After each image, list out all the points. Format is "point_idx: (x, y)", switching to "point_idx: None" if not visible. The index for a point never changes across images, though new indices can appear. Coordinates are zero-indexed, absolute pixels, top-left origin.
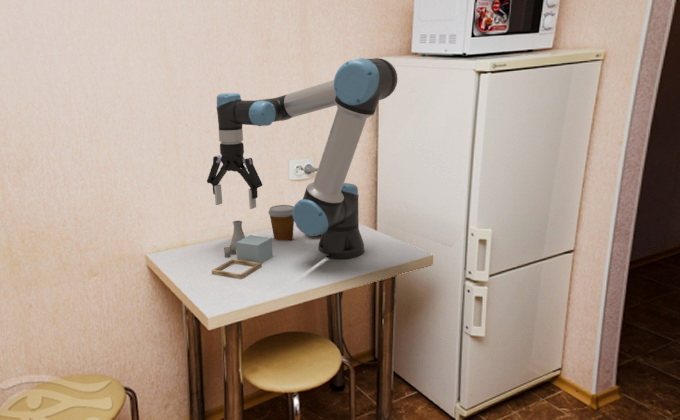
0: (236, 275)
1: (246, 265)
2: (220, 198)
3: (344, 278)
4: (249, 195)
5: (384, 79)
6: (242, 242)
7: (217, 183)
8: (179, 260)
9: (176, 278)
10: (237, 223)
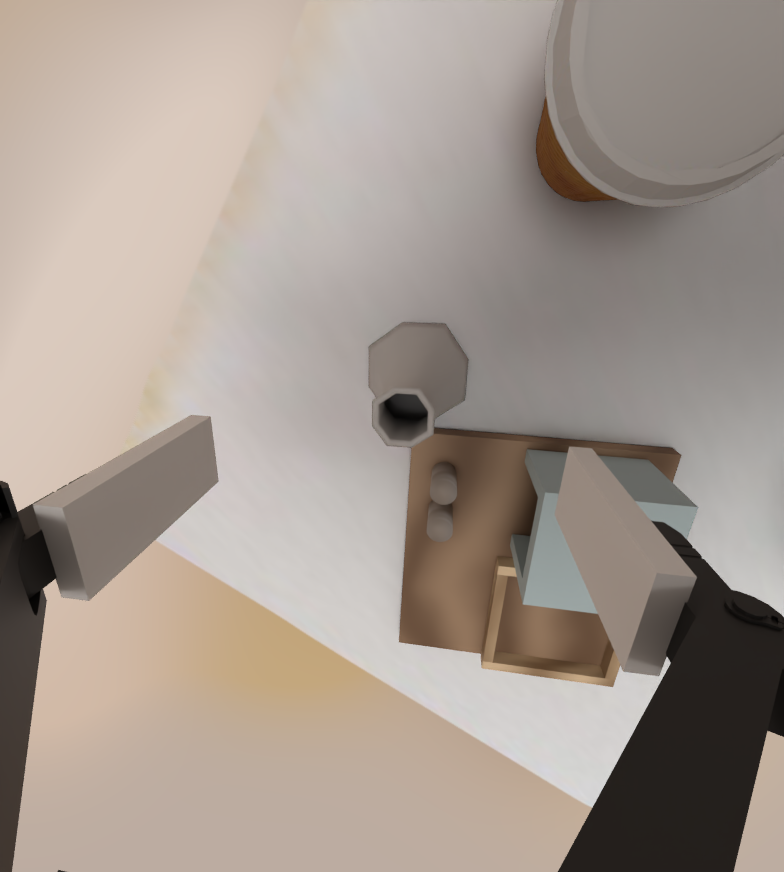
0: (589, 681)
1: None
2: (185, 457)
3: None
4: (602, 605)
5: None
6: (556, 598)
7: (27, 552)
8: (264, 541)
9: (370, 662)
10: (419, 442)
